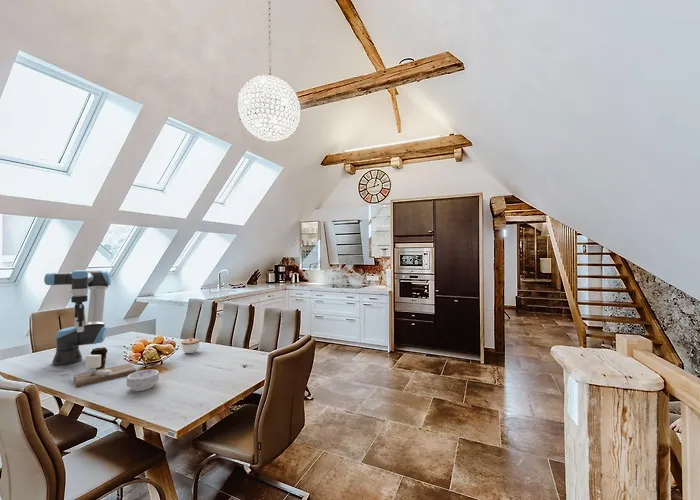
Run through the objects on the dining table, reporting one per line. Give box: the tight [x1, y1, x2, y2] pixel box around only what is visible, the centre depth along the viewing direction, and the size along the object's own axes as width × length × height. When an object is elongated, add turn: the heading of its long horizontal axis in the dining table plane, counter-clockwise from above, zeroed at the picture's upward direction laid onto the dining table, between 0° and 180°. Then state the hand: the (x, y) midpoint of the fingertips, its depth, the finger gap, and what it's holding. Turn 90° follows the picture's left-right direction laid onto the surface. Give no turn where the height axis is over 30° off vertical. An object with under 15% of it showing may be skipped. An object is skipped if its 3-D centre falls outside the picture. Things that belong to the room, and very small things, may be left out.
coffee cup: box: [90, 347, 108, 370], centre depth 200 cm, size 9×8×13 cm
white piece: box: [85, 354, 110, 375], centre depth 184 cm, size 2×12×12 cm, turn 97°
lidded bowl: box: [181, 337, 201, 354], centre depth 234 cm, size 13×13×11 cm
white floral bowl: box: [126, 369, 160, 392], centre depth 174 cm, size 15×15×8 cm
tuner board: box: [73, 363, 137, 388], centre depth 188 cm, size 15×28×3 cm, turn 137°
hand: (78, 329), depth 187 cm, fingers open, 13 cm apart
